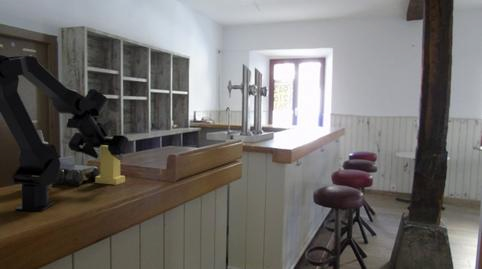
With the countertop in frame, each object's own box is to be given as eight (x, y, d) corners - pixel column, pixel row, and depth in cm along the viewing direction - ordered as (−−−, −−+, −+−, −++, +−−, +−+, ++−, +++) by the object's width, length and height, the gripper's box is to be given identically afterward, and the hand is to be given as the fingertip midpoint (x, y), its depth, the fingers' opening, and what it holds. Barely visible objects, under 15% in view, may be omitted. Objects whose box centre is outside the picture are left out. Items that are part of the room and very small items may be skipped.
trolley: (80, 186, 111) (80, 161, 110) (51, 183, 113) (50, 159, 113) (99, 180, 120) (100, 157, 120) (72, 177, 123) (72, 155, 122)
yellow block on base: (116, 184, 115) (116, 147, 114) (95, 182, 117) (95, 145, 116) (124, 181, 120) (125, 145, 119) (104, 179, 122) (104, 144, 121)
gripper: (125, 109, 109) (143, 142, 120) (74, 107, 113) (96, 138, 124) (110, 136, 102) (130, 168, 113) (56, 133, 106) (81, 163, 117)
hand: (109, 158), depth 117 cm, fingers open, 9 cm apart
